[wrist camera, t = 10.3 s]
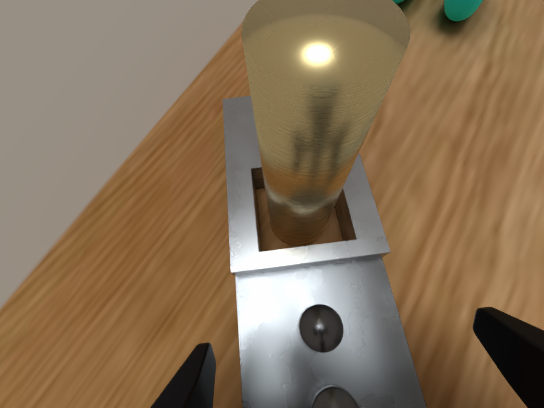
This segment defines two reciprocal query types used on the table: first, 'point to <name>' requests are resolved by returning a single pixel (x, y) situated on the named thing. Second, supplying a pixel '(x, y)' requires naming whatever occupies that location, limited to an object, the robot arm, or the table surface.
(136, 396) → the table surface
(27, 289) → the table surface
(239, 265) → the bolted metal plate
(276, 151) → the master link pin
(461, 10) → the donuts
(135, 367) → the table surface
